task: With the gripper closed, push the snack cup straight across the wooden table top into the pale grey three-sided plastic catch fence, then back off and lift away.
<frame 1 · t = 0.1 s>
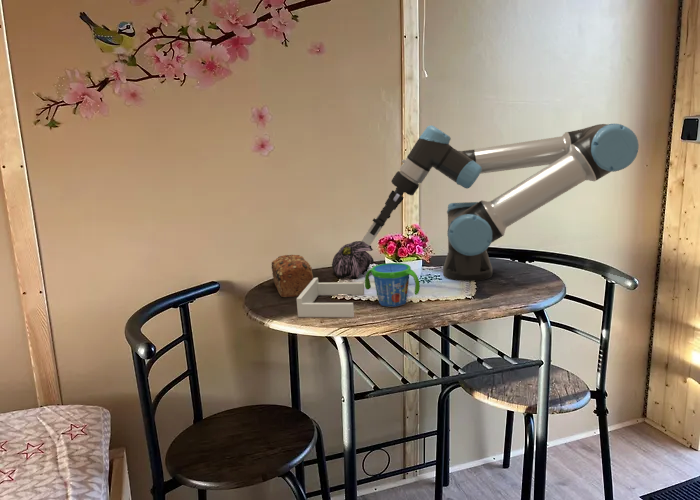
hand: (368, 238, 160), 15 cm above the table, tool tilted 35°, fingers open, 13 cm apart
bread: (292, 289, 168), on the table
catch fence: (334, 304, 150), on the table
decorative flower: (352, 275, 180), on the table
snack cup: (392, 304, 149), on the table
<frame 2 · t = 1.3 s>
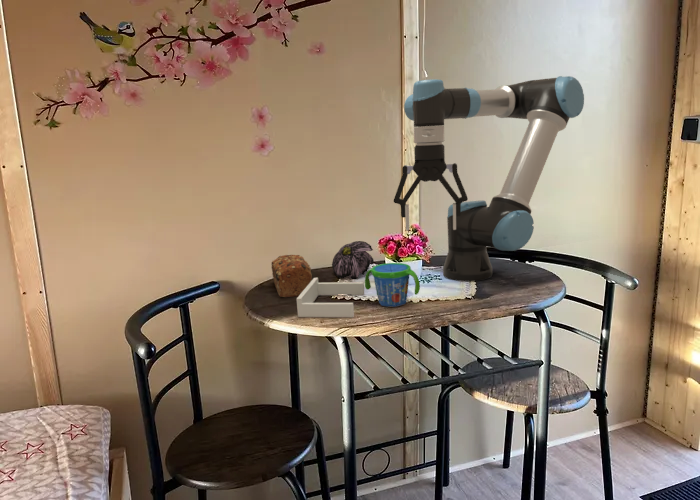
hand: (430, 229, 142), 20 cm above the table, tool pointing down, fingers open, 11 cm apart
nothing on the table moved.
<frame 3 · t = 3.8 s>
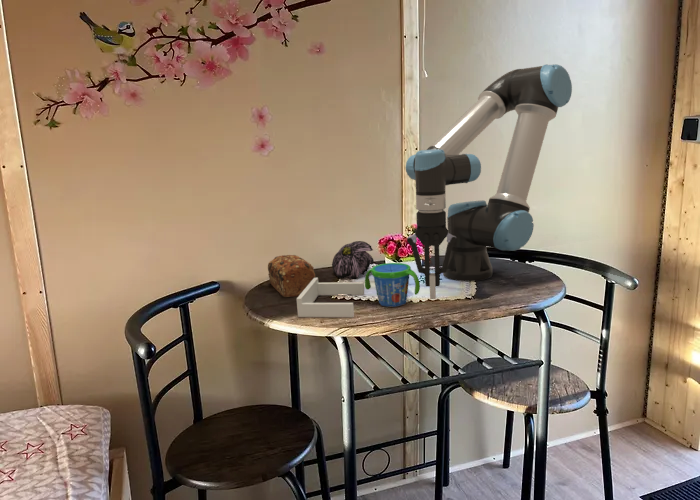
hand: (432, 297, 146), 2 cm above the table, tool pointing down, fingers closed
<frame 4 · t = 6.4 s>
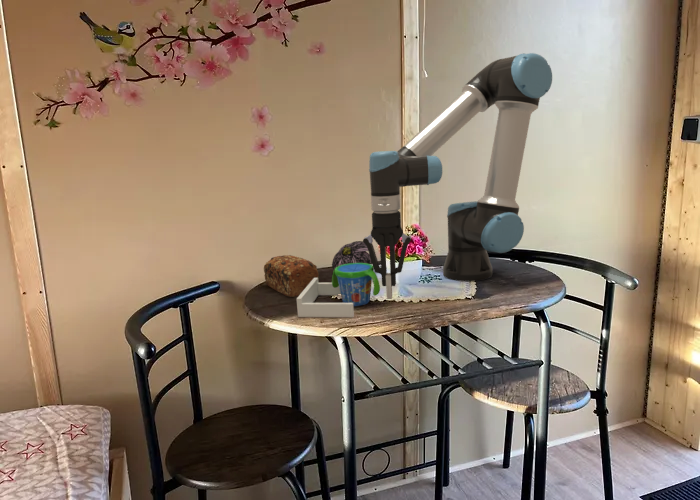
hand: (389, 297, 148), 2 cm above the table, tool pointing down, fingers closed
snack cup: (356, 303, 151), on the table, touching gripper, hand
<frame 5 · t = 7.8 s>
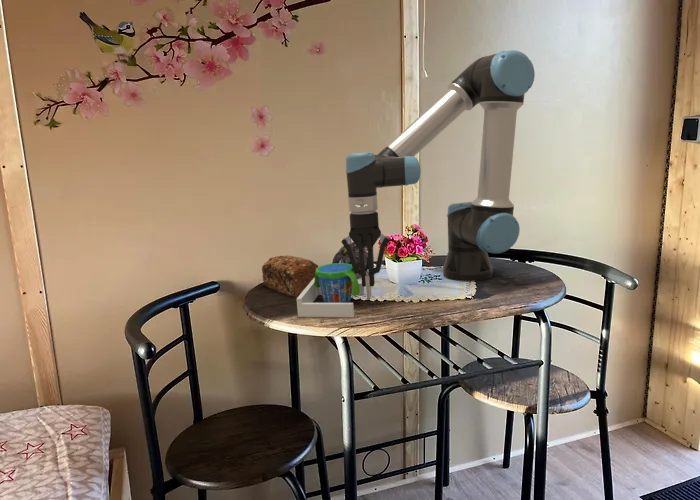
hand: (369, 297, 149), 2 cm above the table, tool pointing down, fingers closed
snack cup: (337, 303, 152), on the table, touching catch fence, gripper, hand
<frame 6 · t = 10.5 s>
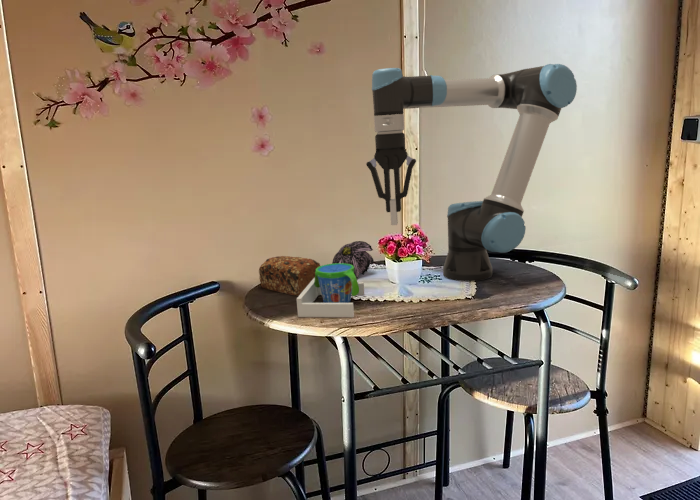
hand: (394, 224, 144), 22 cm above the table, tool pointing down, fingers closed
snack cup: (337, 303, 152), on the table
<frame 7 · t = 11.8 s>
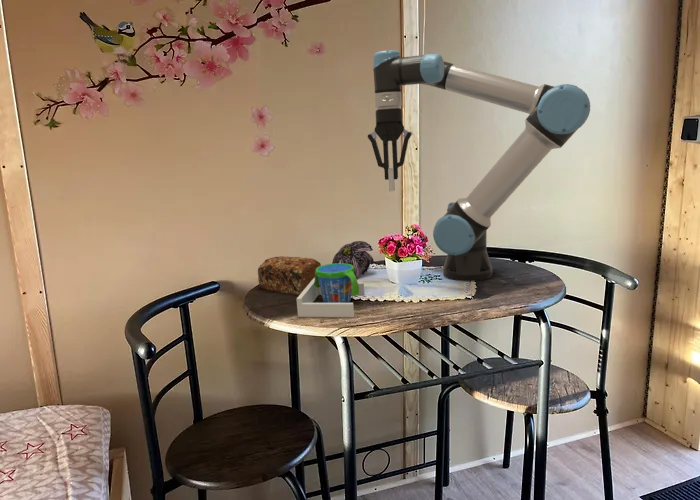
hand: (391, 190, 161), 28 cm above the table, tool pointing down, fingers closed
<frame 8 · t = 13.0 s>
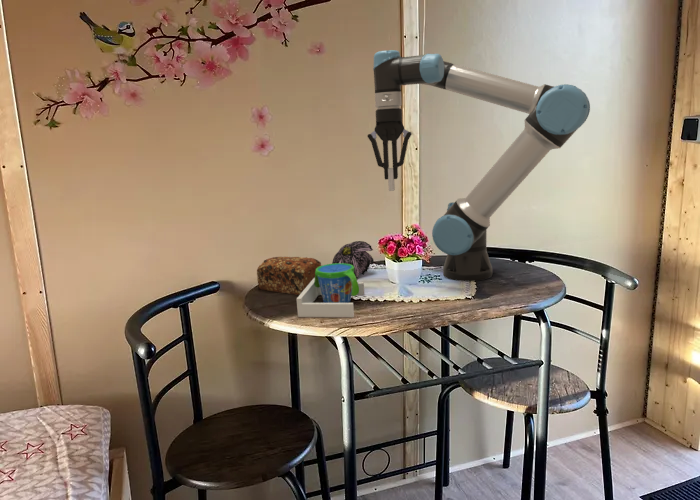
hand: (391, 190, 162), 28 cm above the table, tool pointing down, fingers closed
at the end: snack cup inside the target area (1.7 cm from its centre), on the table; snack cup moved 15.5 cm from its start; the gripper is holding nothing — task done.
